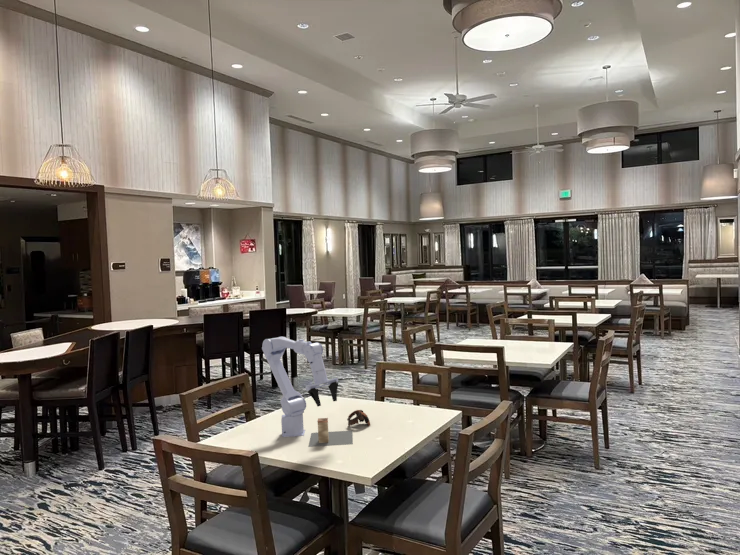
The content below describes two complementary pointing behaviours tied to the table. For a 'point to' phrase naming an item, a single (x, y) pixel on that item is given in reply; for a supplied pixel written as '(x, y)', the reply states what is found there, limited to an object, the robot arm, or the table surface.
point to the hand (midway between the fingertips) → (327, 403)
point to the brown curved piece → (360, 416)
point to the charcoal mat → (333, 439)
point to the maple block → (323, 430)
